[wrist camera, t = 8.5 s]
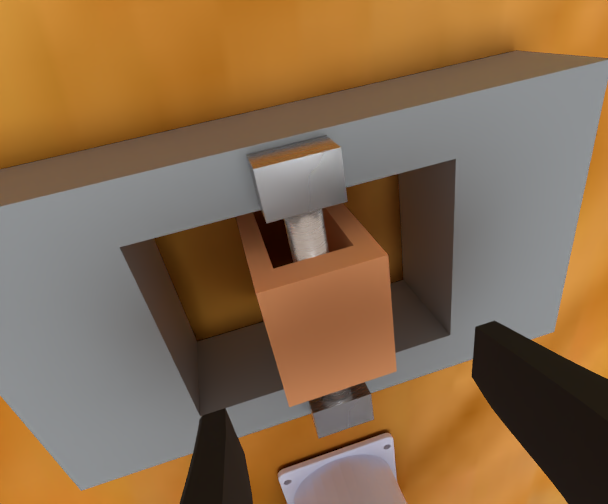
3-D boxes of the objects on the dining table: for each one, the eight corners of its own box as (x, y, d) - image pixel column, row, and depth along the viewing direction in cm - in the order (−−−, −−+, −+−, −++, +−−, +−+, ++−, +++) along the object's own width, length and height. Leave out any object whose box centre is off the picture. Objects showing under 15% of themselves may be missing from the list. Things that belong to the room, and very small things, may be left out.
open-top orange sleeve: (341, 281, 20) (396, 371, 14) (261, 305, 19) (289, 407, 14) (327, 185, 17) (388, 254, 12) (233, 210, 16) (255, 293, 11)
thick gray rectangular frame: (493, 280, 23) (578, 351, 18) (100, 403, 20) (73, 526, 15) (516, 50, 17) (654, 62, 12) (-48, 180, 14) (-175, 267, 9)
